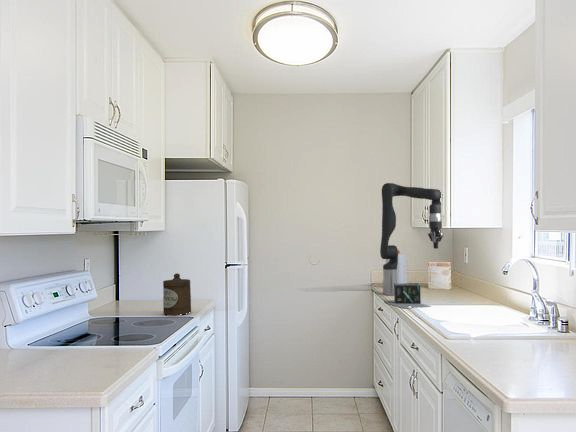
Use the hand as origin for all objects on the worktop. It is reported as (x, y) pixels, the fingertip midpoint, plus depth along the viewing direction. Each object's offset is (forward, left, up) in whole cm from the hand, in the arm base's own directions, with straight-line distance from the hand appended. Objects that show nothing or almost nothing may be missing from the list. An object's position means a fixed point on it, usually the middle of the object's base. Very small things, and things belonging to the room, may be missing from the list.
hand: (435, 248), depth 290 cm
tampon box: (+6, -17, -26) cm, 32 cm away
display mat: (+8, -27, -32) cm, 43 cm away
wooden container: (-17, -157, -32) cm, 161 cm away
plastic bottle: (-58, +7, -32) cm, 67 cm away
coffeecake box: (-41, +33, -32) cm, 62 cm away
